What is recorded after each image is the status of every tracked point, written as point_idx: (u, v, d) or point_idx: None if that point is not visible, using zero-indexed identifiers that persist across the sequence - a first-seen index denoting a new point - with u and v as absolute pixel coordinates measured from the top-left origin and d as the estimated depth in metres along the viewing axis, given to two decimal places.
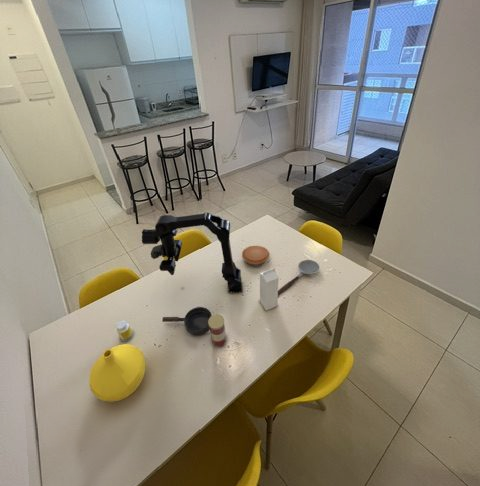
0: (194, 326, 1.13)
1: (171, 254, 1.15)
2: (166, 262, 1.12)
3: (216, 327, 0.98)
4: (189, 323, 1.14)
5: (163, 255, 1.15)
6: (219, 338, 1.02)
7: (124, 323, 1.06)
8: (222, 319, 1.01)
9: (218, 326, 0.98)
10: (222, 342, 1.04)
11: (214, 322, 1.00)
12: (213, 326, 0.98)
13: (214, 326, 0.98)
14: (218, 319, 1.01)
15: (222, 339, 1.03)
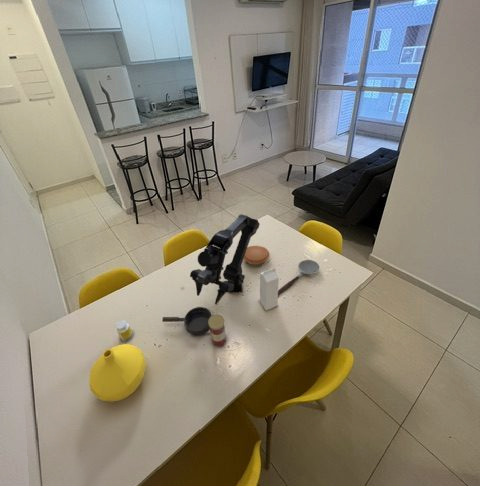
0: (194, 326, 1.13)
1: (219, 276, 1.06)
2: (226, 282, 1.03)
3: (216, 327, 0.98)
4: (189, 323, 1.14)
5: (215, 279, 1.03)
6: (219, 338, 1.02)
7: (124, 323, 1.06)
8: (222, 319, 1.01)
9: (218, 326, 0.98)
10: (222, 342, 1.04)
11: (214, 322, 1.00)
12: (213, 326, 0.98)
13: (214, 326, 0.98)
14: (218, 319, 1.01)
15: (222, 339, 1.03)
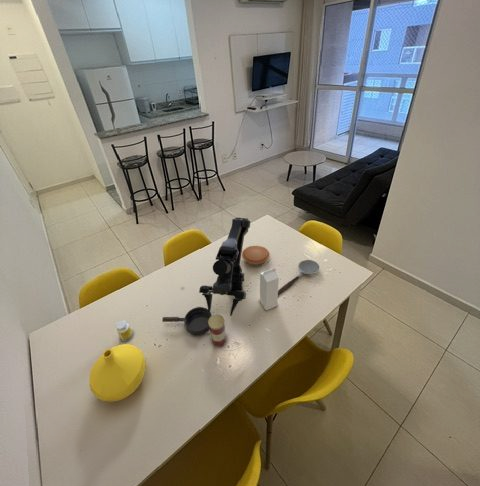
0: (194, 326, 1.13)
1: None
2: (239, 291, 1.05)
3: (216, 327, 0.98)
4: (189, 323, 1.14)
5: None
6: (219, 338, 1.02)
7: (124, 323, 1.06)
8: (222, 319, 1.01)
9: (218, 326, 0.98)
10: (222, 342, 1.04)
11: (214, 322, 1.00)
12: (213, 326, 0.98)
13: (214, 326, 0.98)
14: (218, 319, 1.01)
15: (222, 339, 1.03)
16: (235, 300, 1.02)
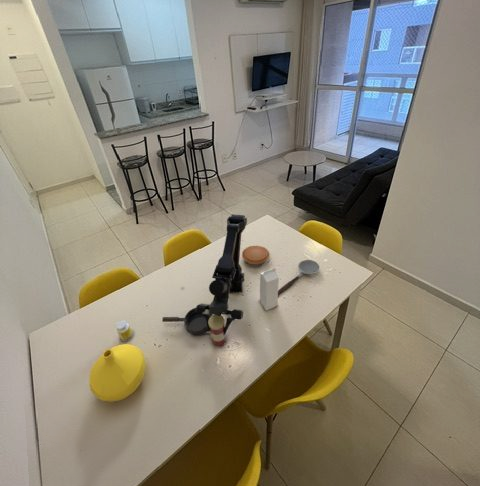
0: (194, 326, 1.13)
1: None
2: (236, 310, 1.03)
3: (216, 327, 0.98)
4: (189, 323, 1.14)
5: None
6: (220, 339, 1.02)
7: (124, 323, 1.06)
8: (222, 319, 1.01)
9: (218, 326, 0.98)
10: (222, 342, 1.04)
11: (214, 322, 1.00)
12: (213, 326, 0.98)
13: (214, 326, 0.98)
14: (218, 319, 1.01)
15: (222, 339, 1.03)
16: (228, 320, 1.00)
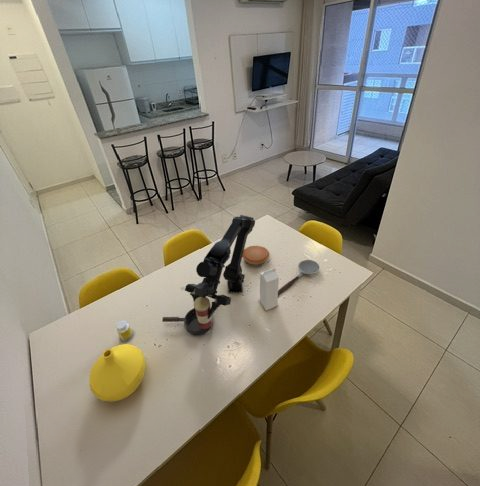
0: (194, 326, 1.13)
1: None
2: (224, 296, 1.00)
3: (199, 309, 0.97)
4: (189, 323, 1.14)
5: None
6: (204, 321, 1.01)
7: (124, 323, 1.06)
8: (208, 302, 1.00)
9: (202, 308, 0.97)
10: (206, 325, 1.03)
11: (199, 303, 0.99)
12: (197, 307, 0.98)
13: (198, 307, 0.98)
14: (204, 301, 1.00)
15: (207, 322, 1.03)
16: (213, 304, 0.98)
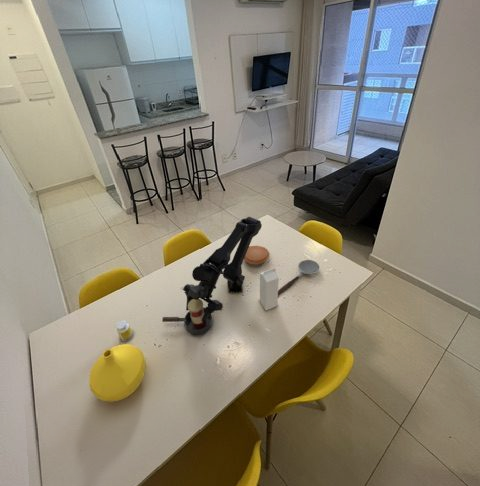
0: None
1: (210, 295, 1.09)
2: (216, 301, 1.05)
3: (192, 309, 1.04)
4: (189, 323, 1.14)
5: (206, 295, 1.06)
6: (196, 322, 1.08)
7: (124, 323, 1.06)
8: (201, 305, 1.06)
9: (194, 309, 1.04)
10: (198, 325, 1.10)
11: (193, 305, 1.06)
12: (190, 308, 1.05)
13: (191, 308, 1.05)
14: (197, 303, 1.07)
15: (199, 323, 1.09)
16: (207, 309, 1.04)
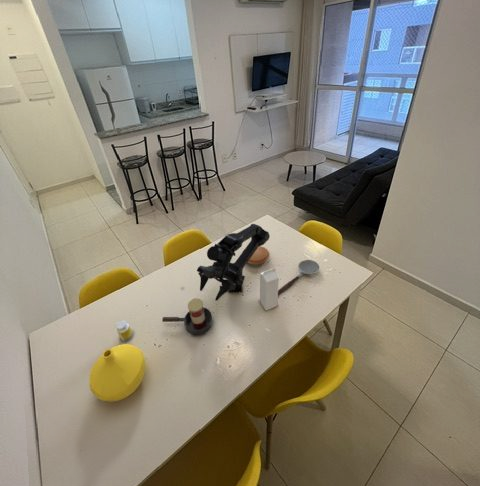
0: None
1: (224, 275, 1.12)
2: (229, 281, 1.09)
3: (192, 309, 1.04)
4: (189, 323, 1.14)
5: (219, 275, 1.09)
6: (196, 322, 1.08)
7: (124, 323, 1.06)
8: (201, 305, 1.06)
9: (194, 309, 1.04)
10: (198, 325, 1.10)
11: (193, 305, 1.06)
12: (190, 308, 1.05)
13: (191, 308, 1.05)
14: (197, 303, 1.07)
15: (199, 323, 1.09)
16: (221, 288, 1.07)
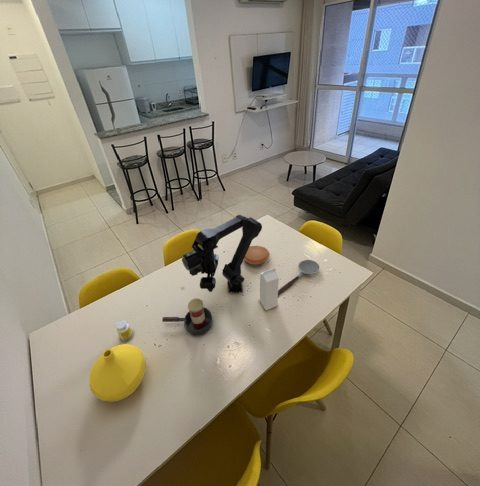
0: None
1: (211, 270, 1.09)
2: (206, 279, 1.06)
3: (192, 309, 1.04)
4: (189, 323, 1.14)
5: (202, 271, 1.09)
6: (196, 322, 1.08)
7: (124, 323, 1.06)
8: (201, 305, 1.06)
9: (194, 309, 1.04)
10: (198, 325, 1.10)
11: (193, 305, 1.06)
12: (190, 308, 1.05)
13: (191, 308, 1.05)
14: (197, 303, 1.07)
15: (199, 323, 1.09)
16: None
